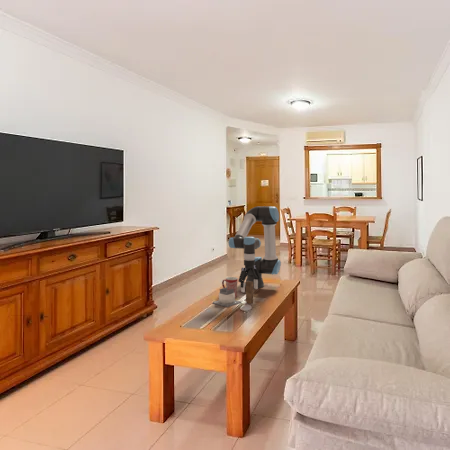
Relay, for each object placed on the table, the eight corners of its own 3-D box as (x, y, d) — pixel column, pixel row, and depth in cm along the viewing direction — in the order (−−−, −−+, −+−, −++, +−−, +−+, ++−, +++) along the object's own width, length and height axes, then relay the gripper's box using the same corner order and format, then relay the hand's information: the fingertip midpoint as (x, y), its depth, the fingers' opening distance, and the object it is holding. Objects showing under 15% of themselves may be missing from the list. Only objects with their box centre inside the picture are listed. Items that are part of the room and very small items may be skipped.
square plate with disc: (226, 299, 300) (226, 285, 299) (241, 302, 290) (241, 288, 289) (212, 303, 290) (212, 289, 289) (227, 306, 280) (227, 292, 279)
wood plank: (248, 302, 292) (248, 280, 290) (253, 303, 289) (253, 281, 288) (246, 303, 289) (245, 281, 288) (250, 304, 287) (250, 282, 285)
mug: (240, 296, 308) (240, 277, 307) (233, 298, 301) (233, 280, 300) (226, 293, 316) (226, 275, 315) (219, 296, 309) (219, 278, 307)
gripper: (256, 257, 298) (256, 286, 300) (232, 261, 280) (233, 292, 282) (265, 258, 293) (265, 288, 295) (241, 262, 275) (241, 294, 276)
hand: (249, 290), depth 288 cm, fingers open, 13 cm apart
